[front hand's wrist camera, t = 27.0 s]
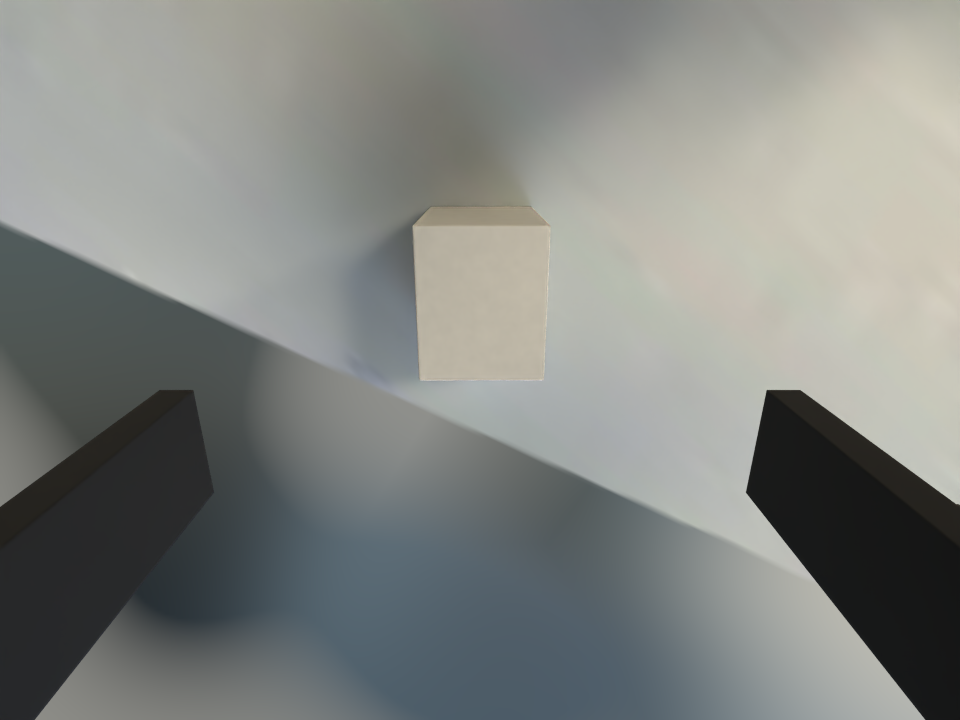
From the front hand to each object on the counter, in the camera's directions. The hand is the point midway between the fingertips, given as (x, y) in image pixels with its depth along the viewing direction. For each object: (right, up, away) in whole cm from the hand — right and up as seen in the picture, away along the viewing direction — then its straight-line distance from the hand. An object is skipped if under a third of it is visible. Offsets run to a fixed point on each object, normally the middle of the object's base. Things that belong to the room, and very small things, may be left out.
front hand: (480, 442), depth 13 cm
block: (0, +7, +20) cm, 21 cm away
